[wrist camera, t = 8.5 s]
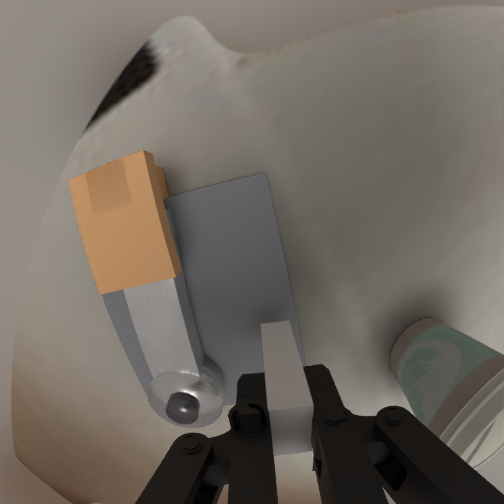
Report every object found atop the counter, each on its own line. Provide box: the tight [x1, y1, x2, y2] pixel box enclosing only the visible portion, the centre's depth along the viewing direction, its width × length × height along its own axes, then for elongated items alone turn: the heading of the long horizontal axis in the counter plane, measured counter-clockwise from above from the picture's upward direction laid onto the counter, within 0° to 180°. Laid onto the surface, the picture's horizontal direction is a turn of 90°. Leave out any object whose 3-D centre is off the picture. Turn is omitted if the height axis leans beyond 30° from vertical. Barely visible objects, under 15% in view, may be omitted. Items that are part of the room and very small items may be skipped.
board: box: [102, 173, 306, 406], centre depth 18 cm, size 12×15×2 cm
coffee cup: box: [390, 318, 504, 470], centre depth 14 cm, size 8×8×12 cm
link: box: [123, 209, 224, 428], centre depth 15 cm, size 14×5×3 cm, turn 9°
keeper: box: [69, 150, 182, 294], centre depth 14 cm, size 4×6×6 cm
